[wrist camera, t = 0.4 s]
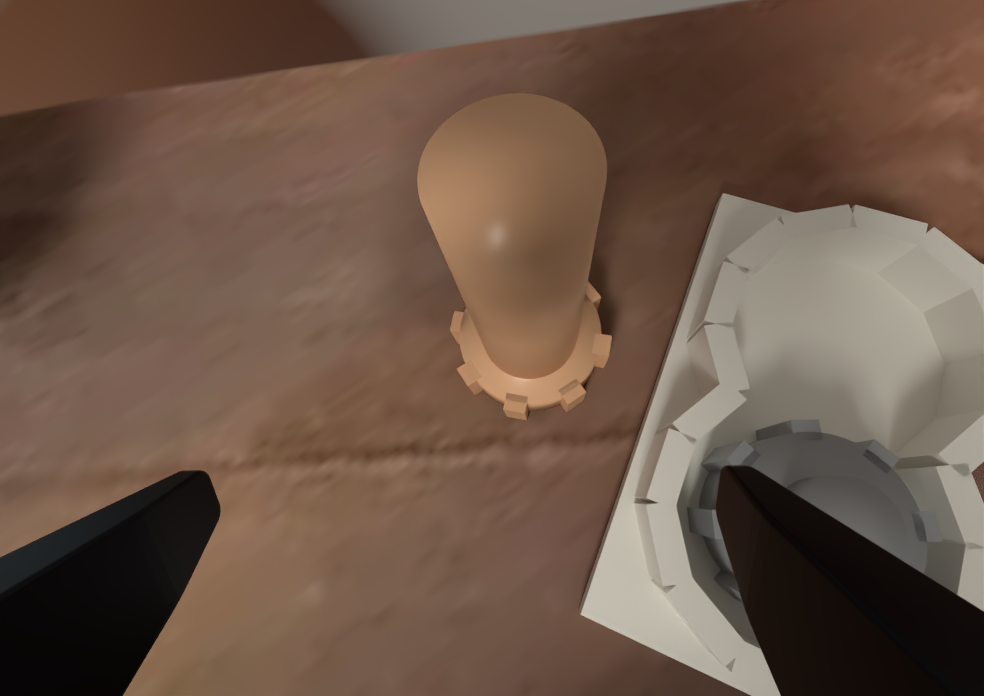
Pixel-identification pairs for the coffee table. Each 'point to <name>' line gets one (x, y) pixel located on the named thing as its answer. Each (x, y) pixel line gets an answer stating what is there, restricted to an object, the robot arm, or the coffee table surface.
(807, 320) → the housing
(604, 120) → the coffee table surface
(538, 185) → the knob on notched ring
